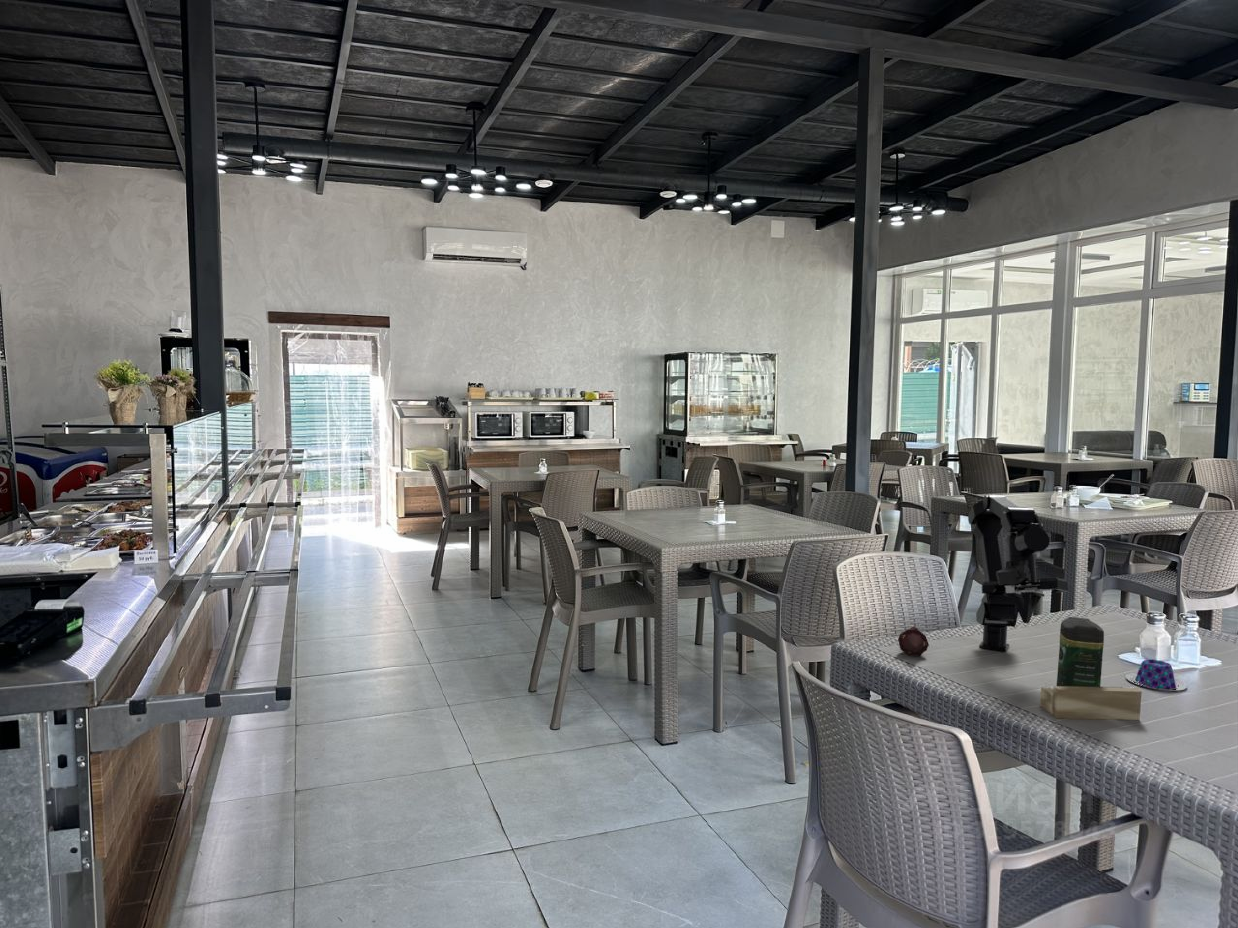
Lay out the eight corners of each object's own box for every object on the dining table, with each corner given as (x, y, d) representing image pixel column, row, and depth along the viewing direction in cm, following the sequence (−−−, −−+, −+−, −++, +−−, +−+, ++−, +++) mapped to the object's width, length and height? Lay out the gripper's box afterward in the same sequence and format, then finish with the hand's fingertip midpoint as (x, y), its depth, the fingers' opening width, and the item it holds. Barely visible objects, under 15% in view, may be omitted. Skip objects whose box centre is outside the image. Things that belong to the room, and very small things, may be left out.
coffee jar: (1103, 714, 174) (1109, 627, 172) (1061, 709, 176) (1066, 624, 174) (1092, 699, 183) (1097, 616, 181) (1052, 694, 185) (1057, 612, 184)
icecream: (934, 639, 204) (930, 629, 218) (903, 629, 206) (901, 619, 220) (925, 666, 204) (921, 653, 219) (895, 655, 206) (893, 644, 221)
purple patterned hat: (1123, 672, 202) (1125, 651, 202) (1182, 681, 197) (1184, 659, 196) (1127, 687, 192) (1129, 665, 191) (1190, 697, 186) (1191, 674, 186)
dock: (1039, 705, 178) (1041, 678, 178) (1119, 707, 178) (1121, 679, 178) (1056, 717, 171) (1058, 689, 171) (1139, 719, 171) (1141, 691, 171)
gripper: (967, 557, 205) (970, 621, 201) (1042, 550, 191) (1047, 619, 187) (992, 562, 212) (995, 624, 208) (1067, 556, 197) (1072, 623, 193)
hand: (1026, 623), depth 199 cm, fingers closed
